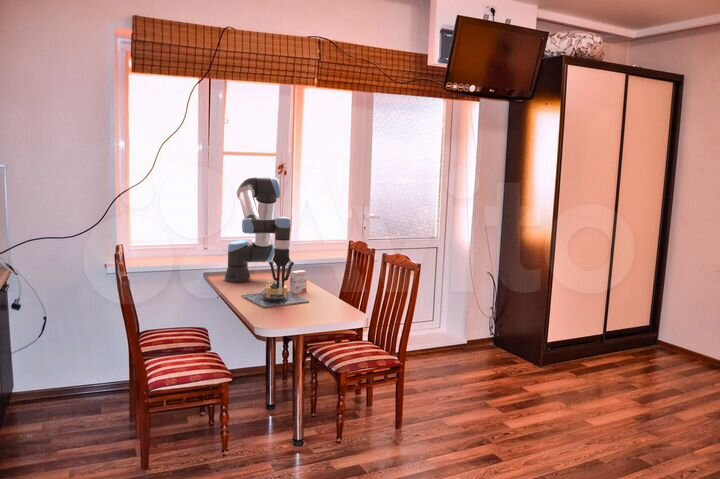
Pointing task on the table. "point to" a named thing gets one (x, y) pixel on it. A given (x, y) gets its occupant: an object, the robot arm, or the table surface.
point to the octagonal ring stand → (274, 290)
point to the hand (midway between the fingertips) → (279, 293)
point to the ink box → (298, 281)
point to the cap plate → (273, 303)
